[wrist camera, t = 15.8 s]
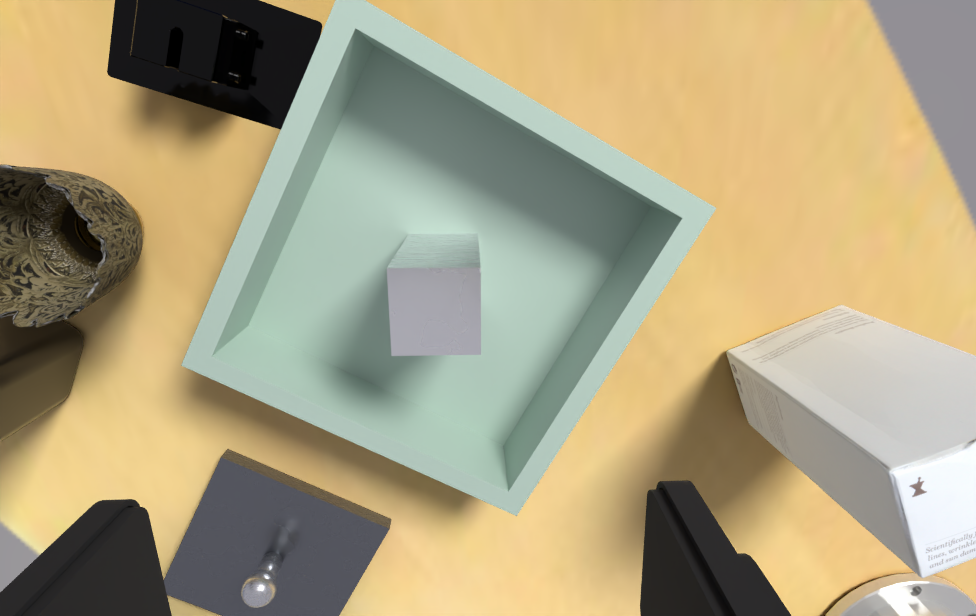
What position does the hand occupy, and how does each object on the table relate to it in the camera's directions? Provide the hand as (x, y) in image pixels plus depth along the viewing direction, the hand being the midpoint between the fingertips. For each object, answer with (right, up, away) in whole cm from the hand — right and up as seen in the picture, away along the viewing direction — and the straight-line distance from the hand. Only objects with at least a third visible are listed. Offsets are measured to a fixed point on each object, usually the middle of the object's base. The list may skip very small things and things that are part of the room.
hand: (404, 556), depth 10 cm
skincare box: (+22, +1, +26) cm, 34 cm away
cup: (-20, +10, +23) cm, 32 cm away
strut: (-1, +7, +23) cm, 24 cm away
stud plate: (-13, -12, +29) cm, 34 cm away
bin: (-1, +7, +24) cm, 25 cm away
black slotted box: (-13, +19, +21) cm, 31 cm away
